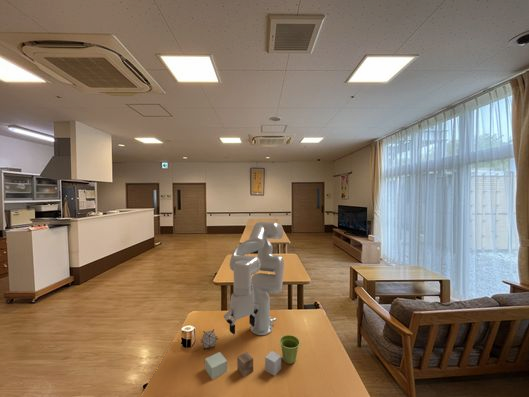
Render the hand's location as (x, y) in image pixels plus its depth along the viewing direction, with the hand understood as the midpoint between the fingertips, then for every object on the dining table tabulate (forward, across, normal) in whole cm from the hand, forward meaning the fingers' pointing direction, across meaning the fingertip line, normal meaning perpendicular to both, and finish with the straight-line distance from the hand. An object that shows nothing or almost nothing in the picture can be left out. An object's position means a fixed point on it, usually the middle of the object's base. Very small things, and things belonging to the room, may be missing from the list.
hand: (242, 328), depth 100 cm
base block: (+19, +9, -7) cm, 22 cm away
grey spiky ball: (+19, +6, -23) cm, 30 cm away
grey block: (+19, -11, +7) cm, 23 cm away
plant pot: (+19, -21, +7) cm, 29 cm away
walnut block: (+19, -1, +1) cm, 19 cm away
